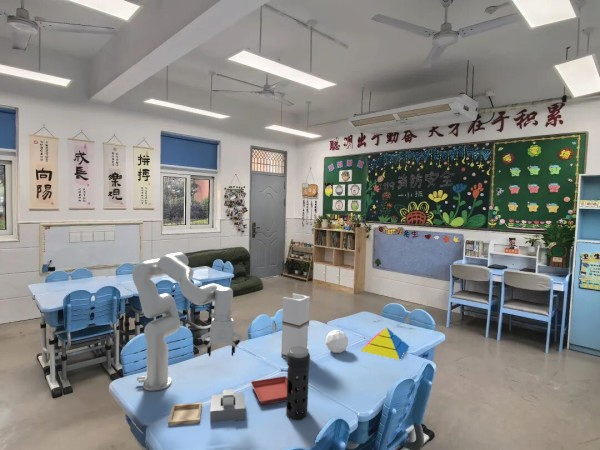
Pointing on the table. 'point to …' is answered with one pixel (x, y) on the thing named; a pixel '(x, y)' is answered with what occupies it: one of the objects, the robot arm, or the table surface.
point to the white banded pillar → (295, 322)
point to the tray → (185, 414)
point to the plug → (228, 397)
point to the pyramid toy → (386, 345)
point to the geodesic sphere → (336, 341)
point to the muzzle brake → (297, 382)
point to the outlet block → (227, 408)
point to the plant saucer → (271, 389)
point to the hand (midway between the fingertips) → (221, 354)
